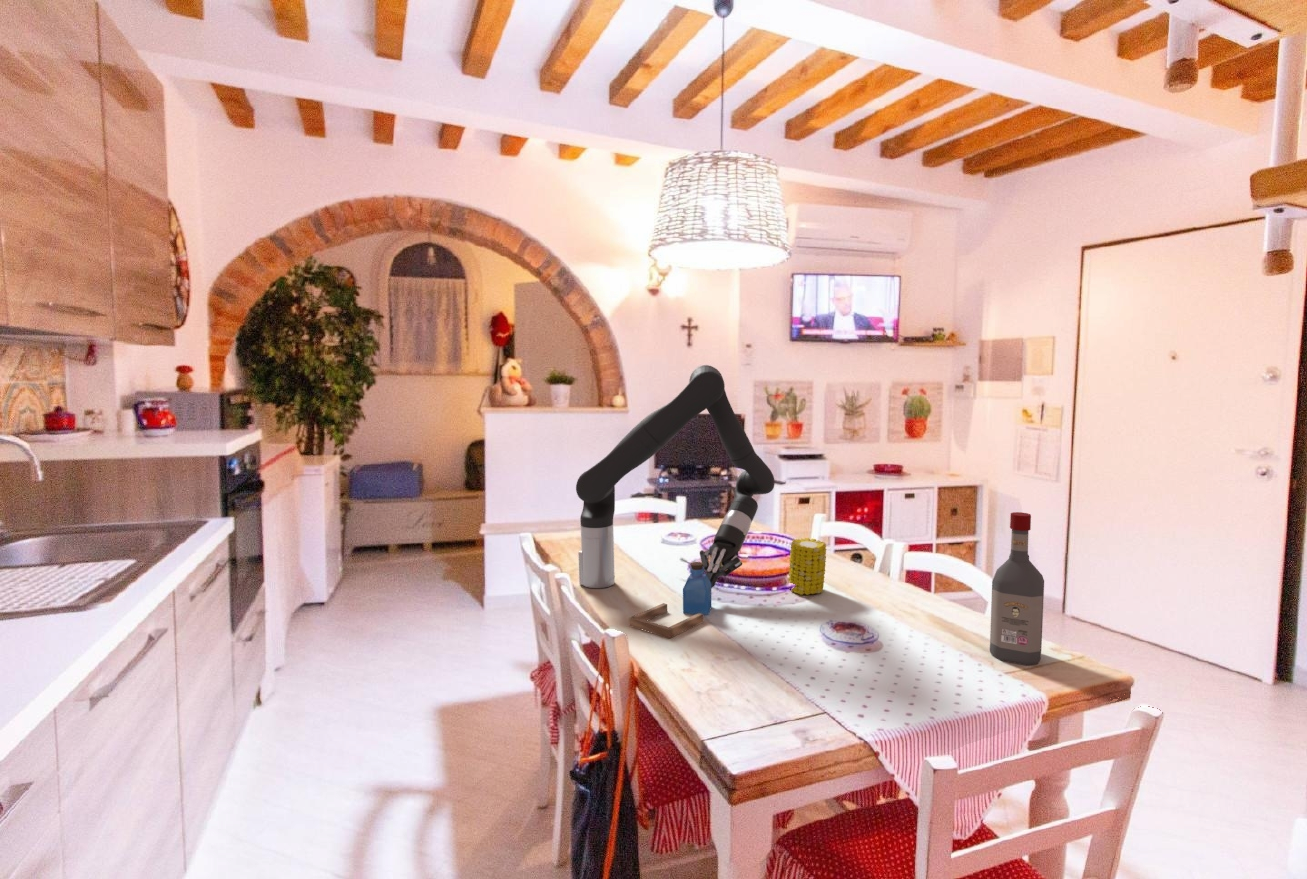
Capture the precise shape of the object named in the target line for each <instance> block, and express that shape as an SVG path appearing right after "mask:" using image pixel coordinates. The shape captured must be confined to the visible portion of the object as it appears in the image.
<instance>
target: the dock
mask: <svg viewBox="0 0 1307 879" xmlns="http://www.w3.org/2000/svg"><path fill="white" fill-rule="evenodd" d="M667 613H668V604H667V603H664V602H663V603H660V604H659V605H655V606H654V607H651V608H649V609H646V610H644V611H642V612H640V613H637V614H636V615H633V616H631V617H629V618H628V625H629V627H632V628H635V629H637V630H641V629H643V630H642V631H644V630H646V631H645V632H647V631H649V632H648V633H650V632H652V633H651V634H653V633H654V635H657V636H661V637H664V638H667V639H672V638H673V637H675V636H678V635H680V634H681V633H684V632H686V631H688V630H690V629H692V628H694V627H696V626H698V625H700V624H702V623H703V622H704V615H703V614H701V613H698V614H693V615H692V616H689V617H687V618H685V619H683V620H680V621H679V622H677V623H675V624H673V625H671V626H666V625H662V624H659V623H656V622H653V621H649V620H651V619H655V618H657V617H659V616H661V615H663V614H667ZM647 620H648V621H647ZM685 630H686V631H685Z"/></svg>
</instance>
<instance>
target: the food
mask: <svg viewBox="0 0 1307 879" xmlns="http://www.w3.org/2000/svg"><path fill="white" fill-rule="evenodd" d="M789 550H790V551H789V552H790V553H789V556H790V557H789V565H790V566H789V567H788V569H789V571H788V576H789V577H788V579H787V580H788V582H789V581H790V583H793V584H795V585H796V587H794V588H793V589H792V590H790V591H791V592H792V593H793V592H794V594H798V595H800V596H803V595H806V596H809V595H810V594H811V595H814V594H822V593H823V591H824V583H825V574H826V562H827V561H826V559H827V556H826V555H827V545H826V542H825V541H821V540H817V539H816V538H811V539H810V538H809V537H807V538H806V537H805V538H795V539H792V541H791V543H790V549H789Z"/></svg>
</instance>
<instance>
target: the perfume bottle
mask: <svg viewBox="0 0 1307 879" xmlns="http://www.w3.org/2000/svg"><path fill="white" fill-rule="evenodd" d="M690 566H691V567H690V568H689V572H690V574H689V575H688V578H687V579H686V581H685V583H684V586H683V588H682V610H683V611H682V612H683V613H682V614H685V613H687V615H688V614H689V615H696V614H698V613H701V614H703V616H708V615H709V614H710V611H711V609H710V608H712V589H711V582H710V580H709V578H708V577H707V575H706V574H707V573H706V574H705V573H704V572H705V569H704V568H703V563H702V561H693V562H691V563H690ZM709 610H710V611H709Z"/></svg>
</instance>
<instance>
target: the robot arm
mask: <svg viewBox="0 0 1307 879" xmlns="http://www.w3.org/2000/svg"><path fill="white" fill-rule="evenodd" d="M725 385H726V384H725V380H724V378H723V376H722V373H721V372H720V371H719V370H718V369H717V368H716V367H714V366H712V365H708V364H704V365H700V366H697V367H696V368H695V369H694V370H693V371H692V372H691V374H690V376H689V380H688V384H687V385H686V386H685V387H683V390H681V392H679V393H678V395H677V396H676V397H674V398H673V399H672V400H670V401H669V402H668V403H667V404H665V405H663V406H661V407H660V408H657V409H656V410H654V411H653V412H651V413H650V414H648V415H647V416H646V417H644V418H643V419H641V421H639V423H637V424H636V425H635V426H634V427H633V428H632V429H631V430H630V431H629V432H628V433H627V434H626V435H625V436H624V437H623V438H622V439H621V440H620V441H619V442H618V443H617V444H616V445H615V447H614V448H613V449H612V450H611V451H610V452H609V453H608V454H607V455H606V456H605V457H603V458H602V459H601V460H600V461H598V462H597V463H596V464H595V465H593V466H591V467H590V468H589V469H587V470H586V471H584V472H583V473H581V474H580V476H579V477H578V478H577V481H576V483H575V491H576V495H577V497H578V498H579V499H580V500H581V501H582V502H583V507H582V511H581V515H580V518H579V519H580V543H581V544H580V546H581V547H580V548H581V549H580V550H579V552H578V579H579V580H578V582H579V583H578V584H579V585H580V586H583V587H585V588H589V589H604V588H608V587H611V586H613V585H615V577H616V576H615V548H614V547H615V545H614V544H615V543H614V542H615V541H614V540H615V538H614V537H615V536H614V516H615V511H616V510H615V509H616V507H615V505H616V499H615V498H616V487H615V486H616V485H617V484H618V482H619V481H620V480H621V479H623V478H624V477H625V476H626V475H627V474H629V473H630V472H631V471H633V470H635V469H636V468H638V467H639V466H641V465H643V463H646V461H648V460H650V459H651V458H652V457H653V456H654V455H656V454H657V453H658V452H659V451H660V450H661V449H662V448H664V447H665V446H666V444H668V443H669V442H670V441H671V440H672V439H673V438H675V436H676V435H677V434H678V433H679V432H680V431H681V430H682V429H683V428H684V427H685V426H686V425H687V424H689V422H691V421H692V420H693V419H694V418H695V417H696V416H698V415H699V414H701V413H702V412H704V411H705V410H706V411H707V412H708V414H709V415H710V417H711V419H712V421H713V424H714V426H715V428H716V431H717V434H718V436H719V439H720V441H721V444H722V446H723V447H724V450H725V451H726V454H727V455H728V457H729V460H730V462H731V463H732V465H733V466H734V467H735V468H737V469H741V470H743V471H742V472H741V473H740V474H739V476H738V477H737V479H736V482H735V489H734V494H733V495H734V496H733V500H732V502H731V504H730V506H729V508H728V509H727V510H728V511H727V512H726V514H725V515H724V516H723V519H722V521H721V523H720V525H719V527H718V529H717V531H716V534H715V535H714V538H713V542H712V544H711V545H710V546H709V548H708V549H707V550H705V551H704V550H700V551H699V556H700V562H702V563H703V568H704V572H706V575H707V577H708V578H709V580H710V582H711V590H712V589H713V588H714V587H715V586H716V583H717V581H718V579H719V578H720V577H724V578H725V577H727V576H728V575H730V574H731V573H733V572H735V571H736V570H737V569H739V568H740V567H742V566H743V562H742V561H741V559H740V558H739V552H740V551H741V549H742V547H743V545H744V543H745V540H746V539H747V535H748V534H749V532H750V530H751V529H750V528H751V525H752V523H753V520H754V518H755V516H756V513H757V512H758V508H759V505H758V502H757V500H756V499H754V497H753V496H754V495H757V496H758V495H768V494H770V493H771V492H772V491H773V490H774V487H775V483H776V482H775V477H774V473H773V472H772V470H771V469H770V467H768V465H767V464H766V463H765V461H764V460H763V459H762V458H761V457H760V456H759V455H758V454H757V452H756V451H755V449H754V446H753V445H752V443H751V441H750V438H749V437H748V435H747V433H746V431H745V430H744V428H743V426H742V424H741V422H740V421H739V418H737V416H736V413H735V411H734V410H733V407H732V404H731V403H730V401H729V398H728V396H727V393H726V389H725Z"/></svg>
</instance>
